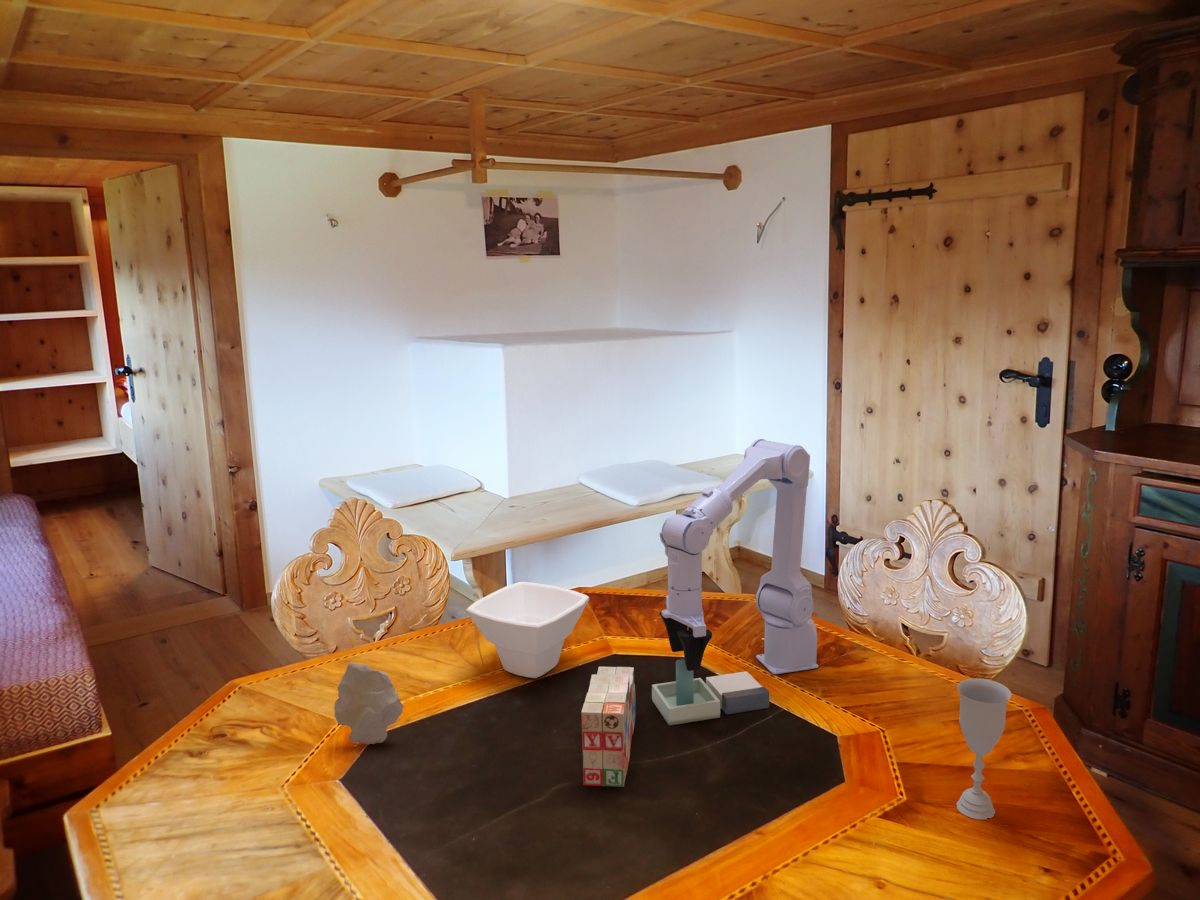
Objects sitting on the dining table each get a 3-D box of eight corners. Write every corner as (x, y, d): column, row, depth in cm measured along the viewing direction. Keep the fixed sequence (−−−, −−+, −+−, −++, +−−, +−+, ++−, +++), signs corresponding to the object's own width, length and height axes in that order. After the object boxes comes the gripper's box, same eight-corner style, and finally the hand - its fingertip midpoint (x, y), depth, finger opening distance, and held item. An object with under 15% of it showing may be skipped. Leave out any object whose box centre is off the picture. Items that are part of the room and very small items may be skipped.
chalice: (997, 830, 120) (1007, 707, 117) (944, 814, 124) (952, 695, 120) (1005, 802, 126) (1015, 685, 123) (955, 788, 130) (962, 674, 126)
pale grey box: (746, 686, 163) (746, 671, 163) (763, 703, 157) (763, 688, 156) (705, 692, 161) (705, 677, 161) (721, 710, 155) (721, 694, 154)
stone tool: (407, 736, 148) (401, 652, 145) (404, 747, 144) (398, 662, 141) (340, 740, 147) (332, 656, 144) (335, 752, 144) (327, 666, 141)
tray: (700, 693, 160) (700, 677, 160) (720, 717, 152) (720, 701, 151) (652, 700, 158) (651, 684, 158) (669, 725, 149) (668, 709, 149)
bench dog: (764, 702, 156) (764, 686, 156) (769, 707, 155) (769, 691, 154) (721, 709, 155) (721, 693, 154) (726, 714, 153) (726, 698, 152)
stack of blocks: (600, 715, 154) (598, 649, 151) (636, 717, 153) (635, 650, 150) (583, 786, 133) (580, 711, 130) (624, 788, 132) (623, 712, 130)
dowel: (690, 700, 157) (689, 657, 155) (696, 708, 154) (695, 664, 152) (673, 702, 156) (673, 660, 154) (679, 710, 153) (679, 667, 152)
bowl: (599, 661, 174) (597, 594, 171) (540, 703, 158) (537, 629, 155) (523, 642, 184) (520, 578, 181) (460, 679, 168) (456, 609, 165)
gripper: (649, 573, 156) (650, 645, 159) (676, 603, 142) (677, 681, 145) (687, 569, 158) (687, 640, 161) (718, 598, 144) (717, 675, 147)
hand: (685, 659), depth 153 cm, fingers open, 7 cm apart
